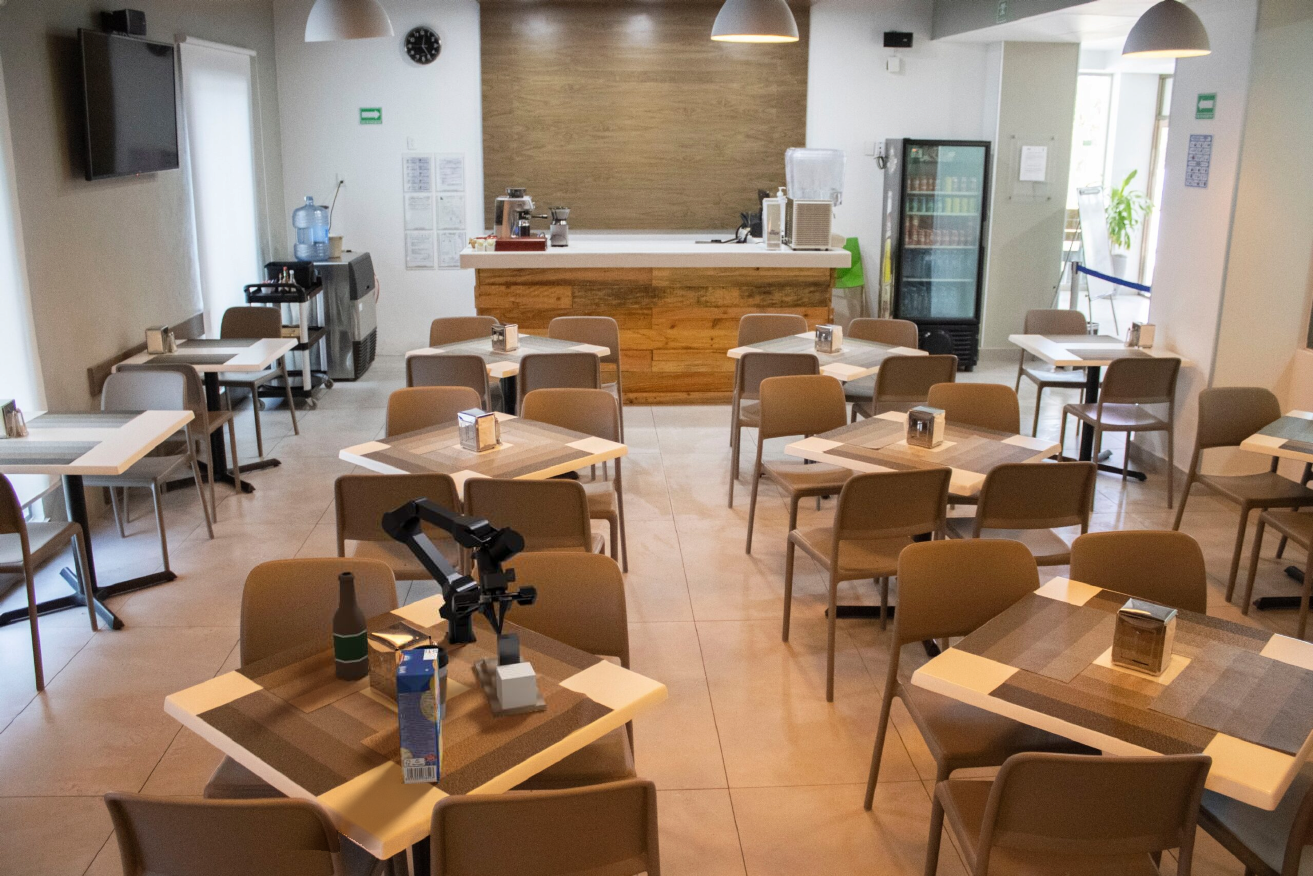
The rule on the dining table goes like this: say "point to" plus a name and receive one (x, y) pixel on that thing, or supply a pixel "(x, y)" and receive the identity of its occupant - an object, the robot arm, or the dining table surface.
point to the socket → (516, 685)
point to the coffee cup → (440, 673)
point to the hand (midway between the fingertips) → (499, 634)
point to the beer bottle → (350, 633)
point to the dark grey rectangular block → (508, 649)
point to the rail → (489, 684)
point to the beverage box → (419, 715)
